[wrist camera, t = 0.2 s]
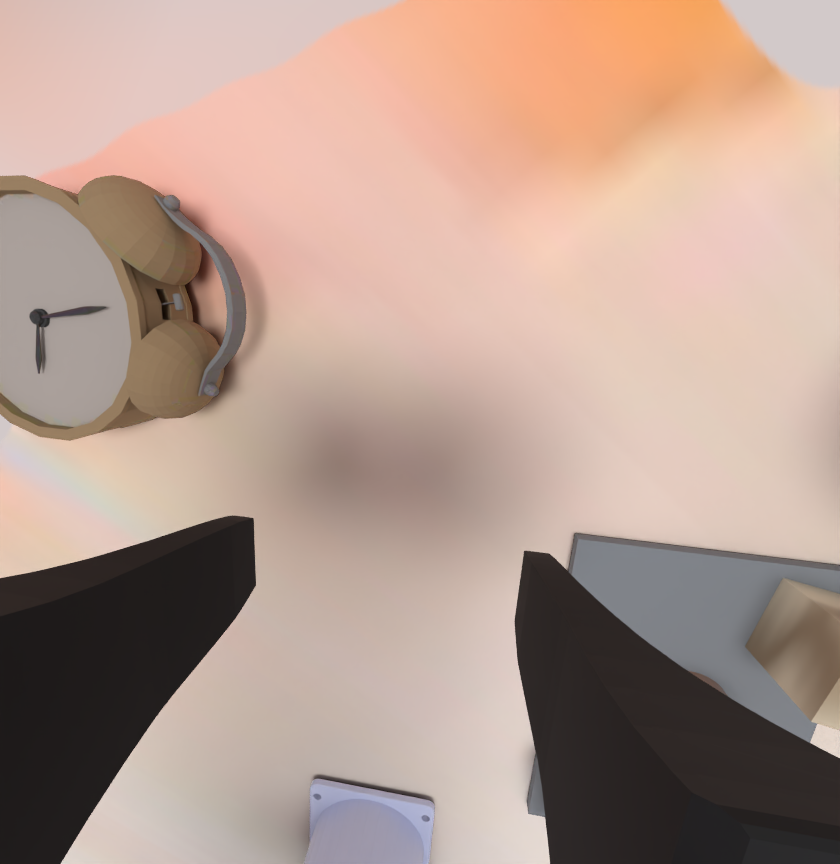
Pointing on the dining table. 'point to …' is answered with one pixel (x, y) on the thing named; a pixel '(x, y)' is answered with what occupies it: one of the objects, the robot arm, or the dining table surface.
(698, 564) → the slate mat
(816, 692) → the birch cube
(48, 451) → the dining table surface
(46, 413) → the alarm clock
